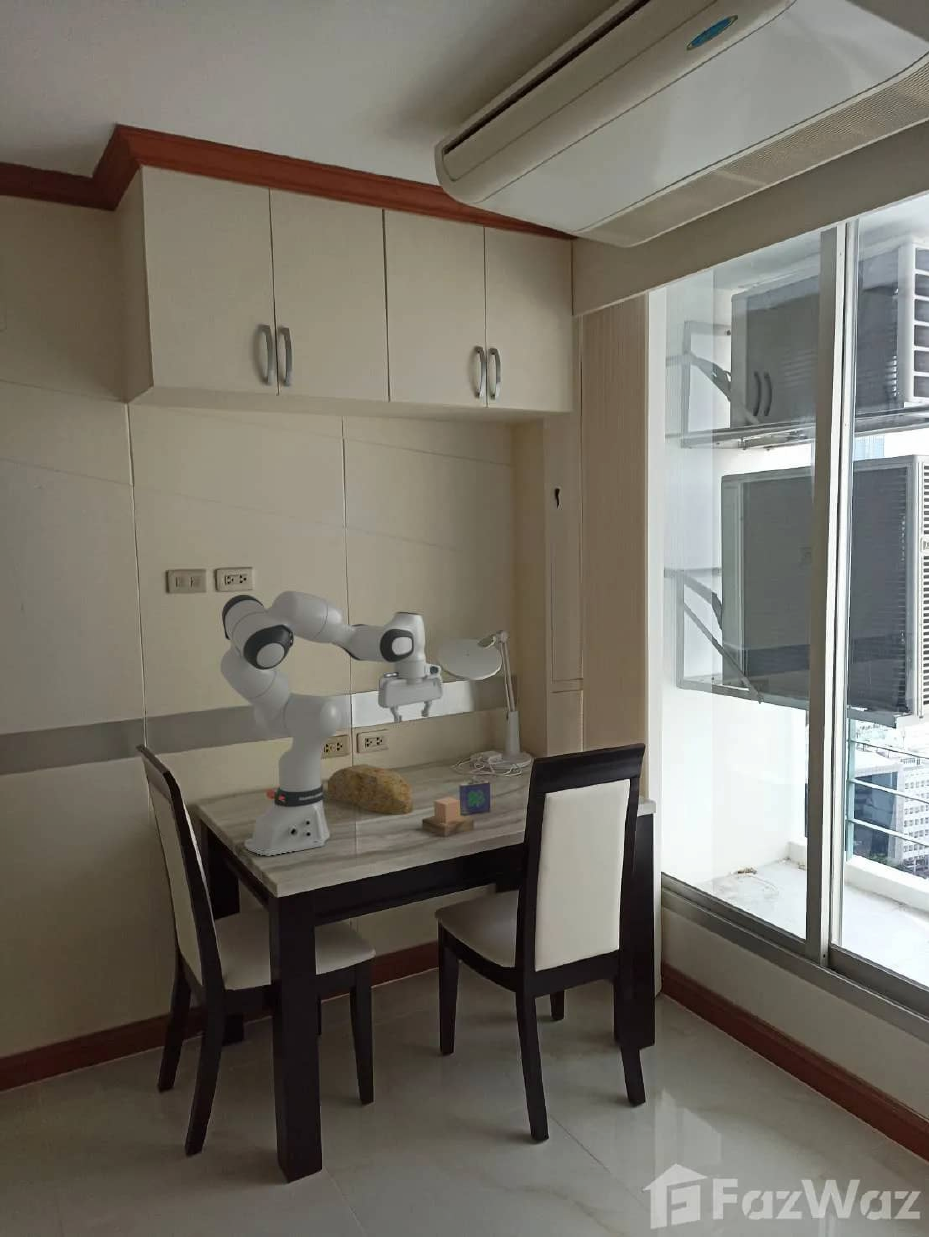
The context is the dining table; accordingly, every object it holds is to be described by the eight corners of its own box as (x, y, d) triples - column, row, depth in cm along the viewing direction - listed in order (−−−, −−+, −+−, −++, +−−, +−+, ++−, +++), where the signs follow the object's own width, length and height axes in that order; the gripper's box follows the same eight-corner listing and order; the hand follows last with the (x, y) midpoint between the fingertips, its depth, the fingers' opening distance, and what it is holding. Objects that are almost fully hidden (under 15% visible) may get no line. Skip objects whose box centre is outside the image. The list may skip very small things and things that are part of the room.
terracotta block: (446, 822, 249) (445, 804, 249) (434, 818, 253) (434, 800, 252) (460, 818, 252) (459, 800, 252) (448, 814, 256) (448, 796, 256)
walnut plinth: (445, 836, 246) (444, 827, 246) (422, 828, 254) (422, 818, 253) (473, 828, 252) (473, 818, 252) (450, 819, 260) (450, 810, 260)
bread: (423, 809, 271) (422, 776, 270) (395, 818, 263) (394, 784, 262) (346, 787, 296) (345, 756, 295) (319, 795, 288) (317, 763, 287)
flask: (461, 816, 263) (460, 779, 262) (458, 813, 266) (457, 777, 264) (491, 812, 266) (491, 776, 265) (488, 809, 268) (487, 773, 267)
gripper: (385, 676, 246) (387, 727, 247) (445, 666, 259) (447, 715, 260) (372, 673, 251) (374, 723, 252) (431, 664, 264) (433, 712, 265)
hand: (411, 719), depth 256 cm, fingers open, 8 cm apart
